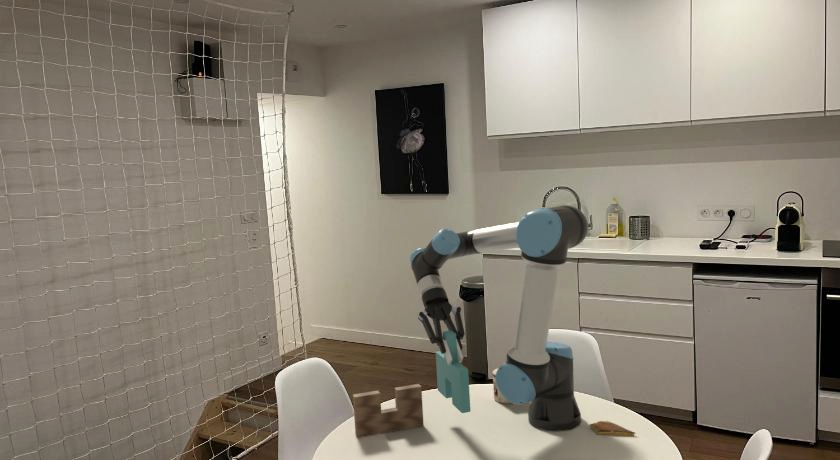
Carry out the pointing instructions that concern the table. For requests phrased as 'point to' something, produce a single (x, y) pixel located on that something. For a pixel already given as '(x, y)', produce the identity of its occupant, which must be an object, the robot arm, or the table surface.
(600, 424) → the pie slice
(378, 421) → the walnut slotted plate
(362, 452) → the table surface
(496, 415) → the table surface
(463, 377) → the teal slotted plate
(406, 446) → the table surface
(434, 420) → the table surface
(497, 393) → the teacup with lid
